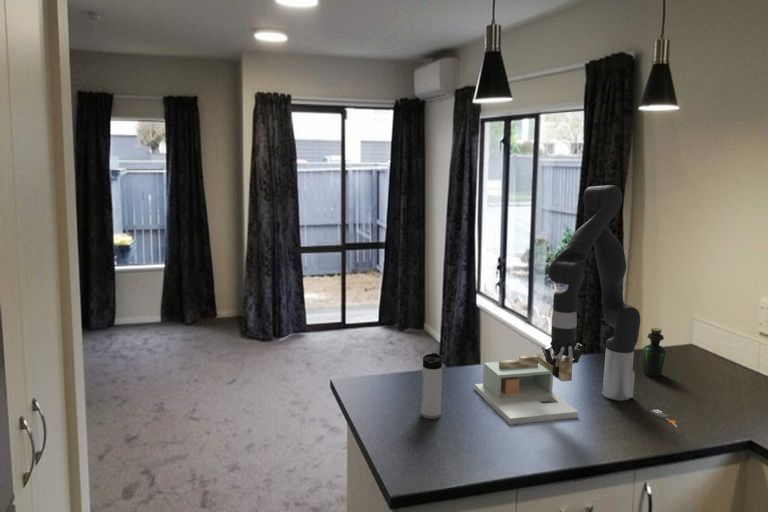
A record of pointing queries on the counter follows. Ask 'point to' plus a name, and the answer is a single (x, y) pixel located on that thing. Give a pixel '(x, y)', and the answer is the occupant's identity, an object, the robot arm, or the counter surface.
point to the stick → (514, 364)
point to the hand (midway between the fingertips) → (561, 376)
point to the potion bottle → (654, 354)
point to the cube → (510, 385)
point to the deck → (523, 394)
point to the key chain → (662, 416)
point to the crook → (564, 365)
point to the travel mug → (431, 386)
